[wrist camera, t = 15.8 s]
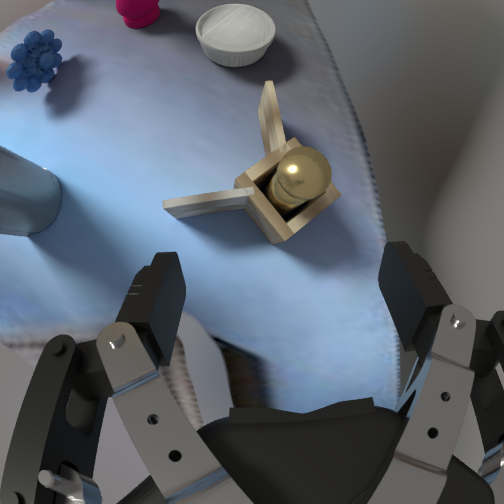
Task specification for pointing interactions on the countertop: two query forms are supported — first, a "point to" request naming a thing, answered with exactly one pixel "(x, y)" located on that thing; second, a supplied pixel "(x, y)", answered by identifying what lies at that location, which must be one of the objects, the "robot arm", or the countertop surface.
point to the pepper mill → (138, 12)
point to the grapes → (34, 60)
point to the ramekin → (235, 34)
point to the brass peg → (298, 179)
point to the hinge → (258, 183)
